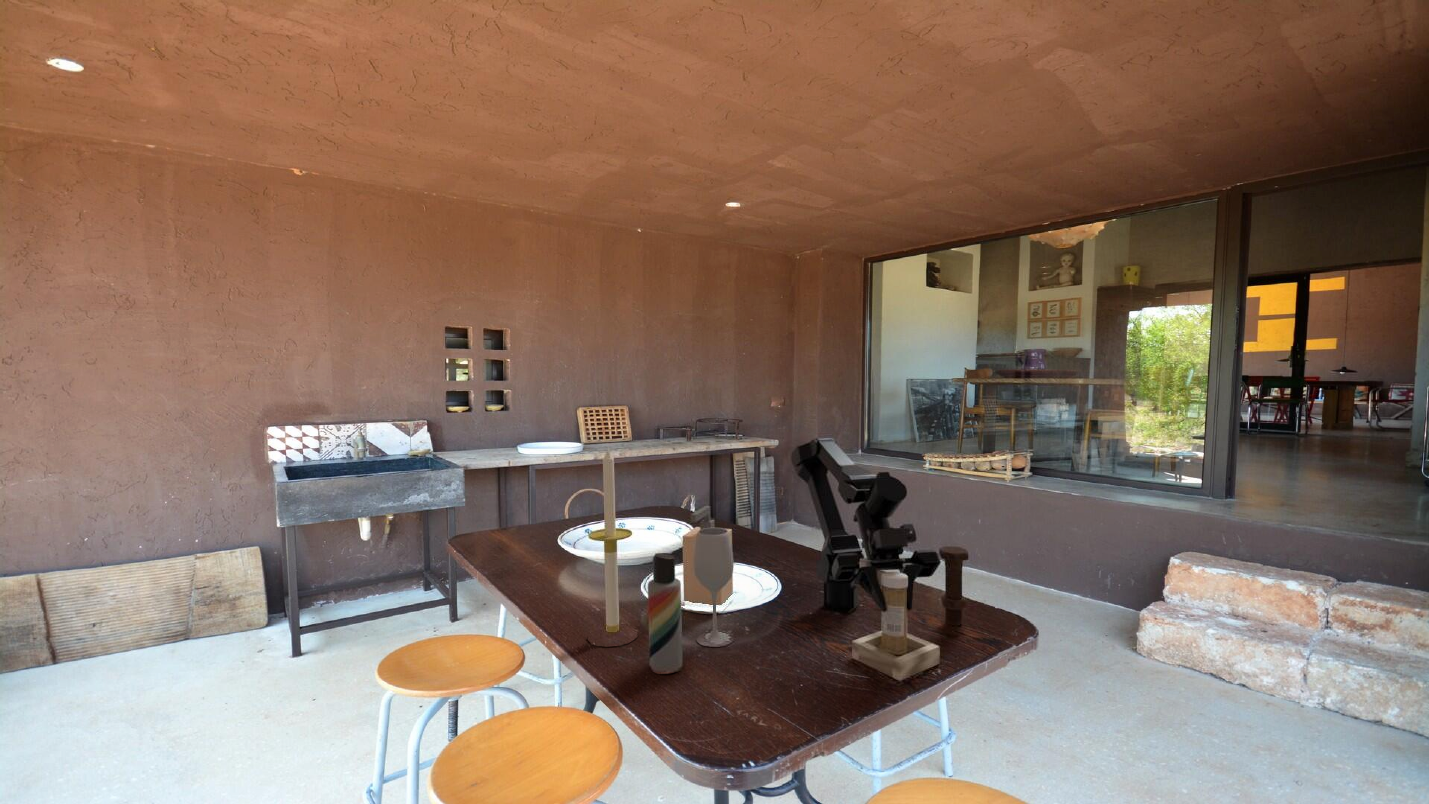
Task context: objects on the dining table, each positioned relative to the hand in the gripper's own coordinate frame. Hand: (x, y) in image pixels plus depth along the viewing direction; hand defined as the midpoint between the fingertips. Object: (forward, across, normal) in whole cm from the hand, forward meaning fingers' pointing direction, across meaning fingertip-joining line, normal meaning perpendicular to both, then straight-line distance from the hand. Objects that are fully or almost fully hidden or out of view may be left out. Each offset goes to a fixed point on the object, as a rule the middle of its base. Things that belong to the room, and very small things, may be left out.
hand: (897, 610), depth 108 cm
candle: (-6, -50, +20) cm, 54 cm away
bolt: (-4, +18, +18) cm, 25 cm away
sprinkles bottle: (+5, 0, +6) cm, 8 cm away
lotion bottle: (+4, -40, +9) cm, 41 cm away
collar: (+6, 0, +7) cm, 9 cm away
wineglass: (-3, -31, +17) cm, 35 cm away
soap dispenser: (-14, -31, +28) cm, 45 cm away
